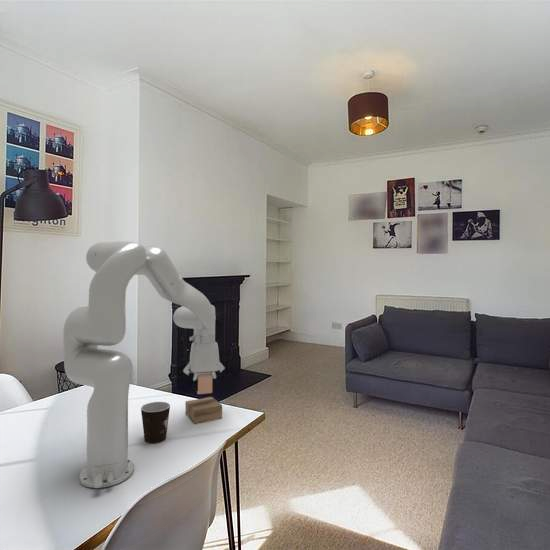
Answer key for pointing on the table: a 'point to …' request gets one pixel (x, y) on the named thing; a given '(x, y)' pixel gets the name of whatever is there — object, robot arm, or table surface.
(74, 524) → the table surface
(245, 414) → the table surface
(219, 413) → the walnut box
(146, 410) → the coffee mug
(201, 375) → the terracotta cube
